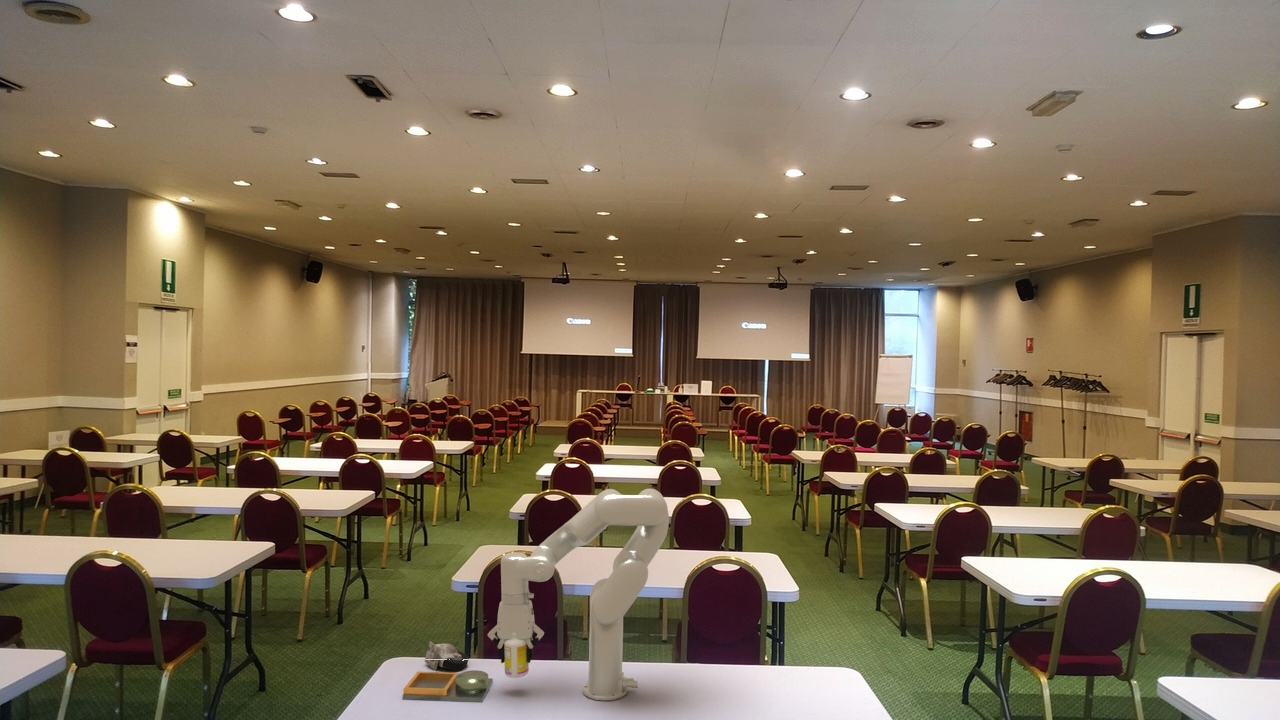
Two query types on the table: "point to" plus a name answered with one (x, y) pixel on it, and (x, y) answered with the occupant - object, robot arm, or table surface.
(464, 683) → the grey base plate
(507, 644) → the supplement bottle
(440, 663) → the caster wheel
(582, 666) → the table surface
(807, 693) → the table surface
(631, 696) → the table surface
